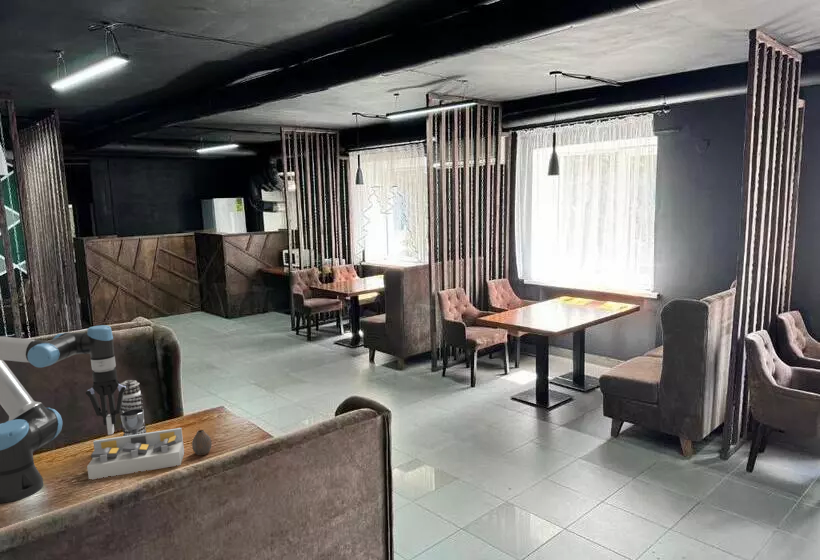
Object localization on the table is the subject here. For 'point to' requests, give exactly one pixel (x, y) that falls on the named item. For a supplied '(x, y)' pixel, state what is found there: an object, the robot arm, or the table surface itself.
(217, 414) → the table surface
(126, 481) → the table surface
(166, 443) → the switch right
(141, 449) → the switch middle
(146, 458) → the switch unit
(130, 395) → the decorative candle
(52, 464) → the table surface
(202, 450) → the vase
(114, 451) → the switch left
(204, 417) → the table surface
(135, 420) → the wine glass
